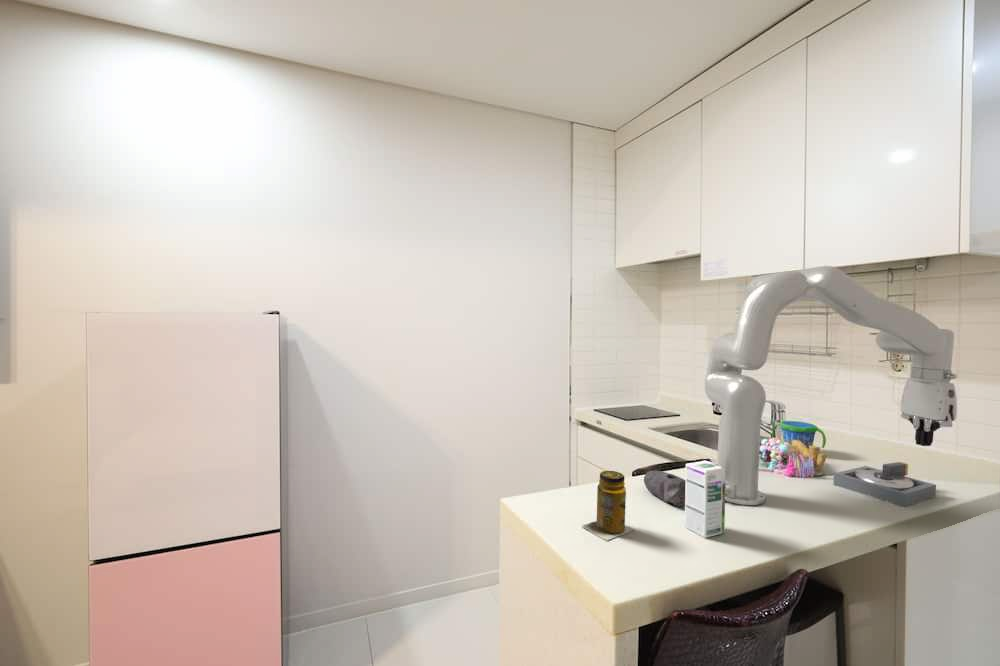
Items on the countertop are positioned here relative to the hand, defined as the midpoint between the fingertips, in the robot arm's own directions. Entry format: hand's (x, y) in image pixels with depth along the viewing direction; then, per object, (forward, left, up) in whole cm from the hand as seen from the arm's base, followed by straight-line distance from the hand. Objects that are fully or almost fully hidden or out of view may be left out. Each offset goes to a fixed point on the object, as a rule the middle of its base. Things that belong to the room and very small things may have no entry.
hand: (923, 444), depth 117 cm
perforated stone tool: (-64, +26, -14) cm, 70 cm away
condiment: (-88, +19, -14) cm, 91 cm away
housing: (-4, +7, -14) cm, 16 cm away
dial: (-2, +6, -12) cm, 14 cm away
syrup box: (-69, +10, -14) cm, 71 cm away
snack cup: (+9, +37, -14) cm, 41 cm away
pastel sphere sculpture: (-10, +32, -15) cm, 37 cm away
